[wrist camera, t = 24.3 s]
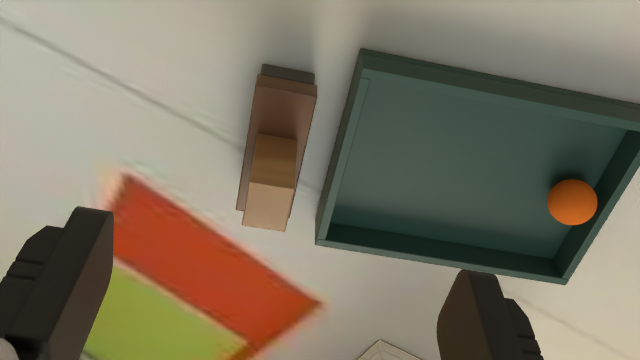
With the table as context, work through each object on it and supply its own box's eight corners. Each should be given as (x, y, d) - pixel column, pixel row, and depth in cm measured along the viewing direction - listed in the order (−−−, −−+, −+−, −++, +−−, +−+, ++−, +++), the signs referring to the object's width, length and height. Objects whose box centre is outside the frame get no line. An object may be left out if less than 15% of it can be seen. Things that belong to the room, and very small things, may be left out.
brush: (260, 63, 36) (246, 130, 29) (317, 74, 36) (316, 143, 29) (240, 183, 41) (225, 263, 34) (291, 191, 41) (285, 273, 34)
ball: (582, 170, 40) (548, 170, 38) (615, 194, 37) (580, 195, 36) (564, 207, 41) (530, 208, 40) (595, 233, 39) (560, 235, 38)
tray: (360, 47, 35) (363, 67, 33) (643, 104, 37) (664, 127, 35) (315, 219, 42) (314, 245, 40) (553, 258, 45) (565, 285, 42)
